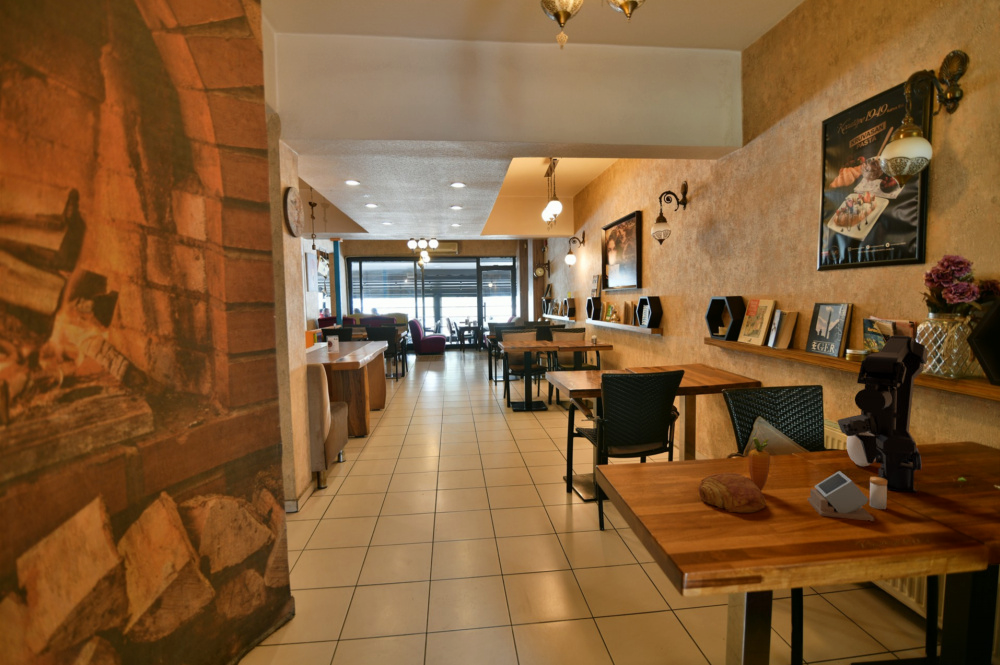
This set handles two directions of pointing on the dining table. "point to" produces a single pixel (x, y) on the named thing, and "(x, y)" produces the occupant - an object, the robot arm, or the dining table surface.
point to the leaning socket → (839, 498)
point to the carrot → (759, 464)
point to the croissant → (732, 493)
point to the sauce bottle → (856, 451)
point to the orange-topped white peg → (878, 492)
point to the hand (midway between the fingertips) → (878, 469)
